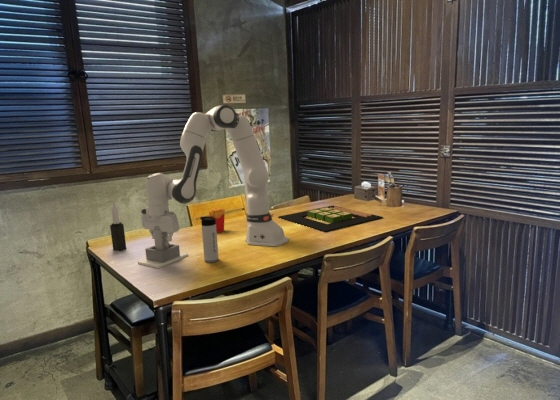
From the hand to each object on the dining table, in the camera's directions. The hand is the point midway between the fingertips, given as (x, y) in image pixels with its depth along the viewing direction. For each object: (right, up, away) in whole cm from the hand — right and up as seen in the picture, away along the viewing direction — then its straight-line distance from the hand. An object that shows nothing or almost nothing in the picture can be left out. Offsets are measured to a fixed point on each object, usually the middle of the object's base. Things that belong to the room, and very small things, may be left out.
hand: (162, 240), depth 181 cm
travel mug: (+22, -9, -2) cm, 24 cm away
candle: (-27, -7, +20) cm, 35 cm away
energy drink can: (0, -8, +2) cm, 9 cm away
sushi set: (+83, +6, +65) cm, 106 cm away
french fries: (+18, 0, +46) cm, 49 cm away
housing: (0, -9, +2) cm, 9 cm away
